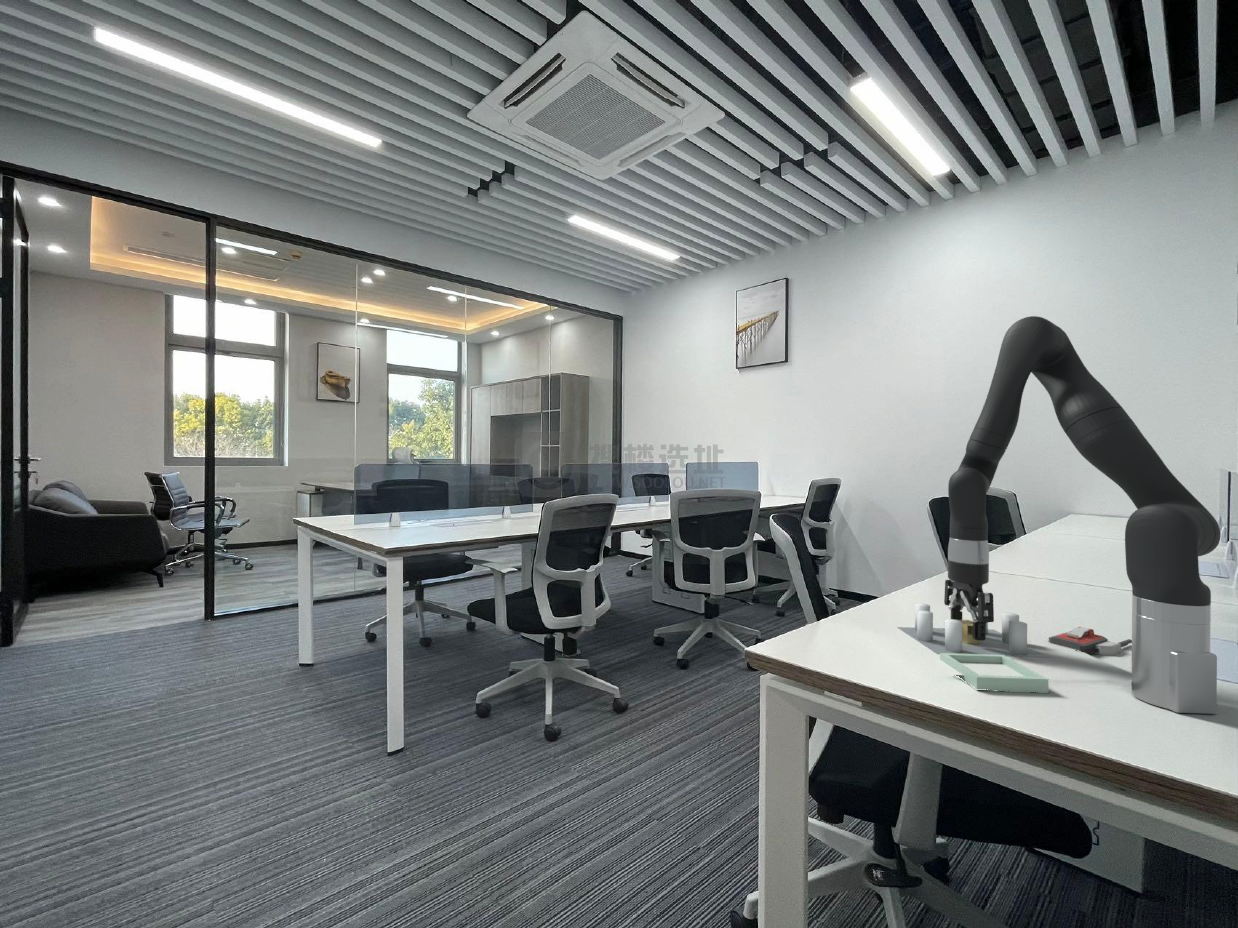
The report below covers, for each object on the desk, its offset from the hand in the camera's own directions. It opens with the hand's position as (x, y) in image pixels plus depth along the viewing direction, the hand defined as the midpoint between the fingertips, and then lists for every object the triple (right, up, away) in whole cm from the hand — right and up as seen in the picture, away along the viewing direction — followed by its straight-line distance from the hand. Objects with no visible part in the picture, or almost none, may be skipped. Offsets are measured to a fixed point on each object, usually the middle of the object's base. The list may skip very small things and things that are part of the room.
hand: (967, 633), depth 117 cm
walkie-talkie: (+27, -4, 0) cm, 27 cm away
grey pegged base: (0, -3, 0) cm, 3 cm away
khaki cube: (0, -2, 0) cm, 2 cm away
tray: (-7, -3, -18) cm, 19 cm away
